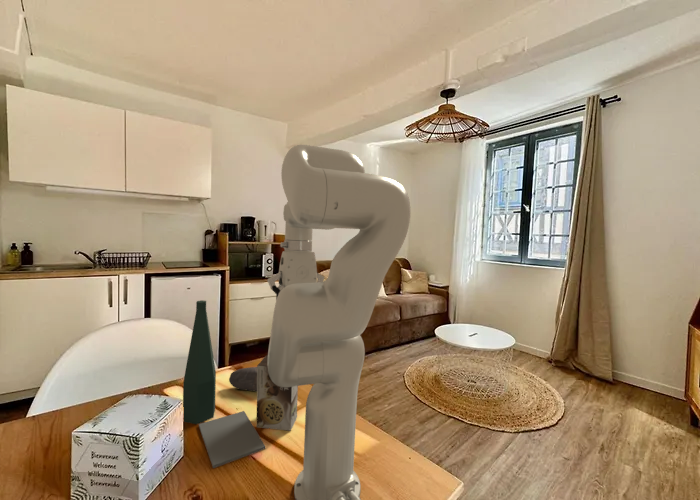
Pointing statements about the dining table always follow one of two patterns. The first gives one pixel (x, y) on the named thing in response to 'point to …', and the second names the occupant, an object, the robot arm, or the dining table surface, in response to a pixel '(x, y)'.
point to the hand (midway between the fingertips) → (296, 307)
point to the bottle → (199, 372)
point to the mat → (230, 438)
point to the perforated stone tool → (244, 379)
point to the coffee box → (274, 401)
